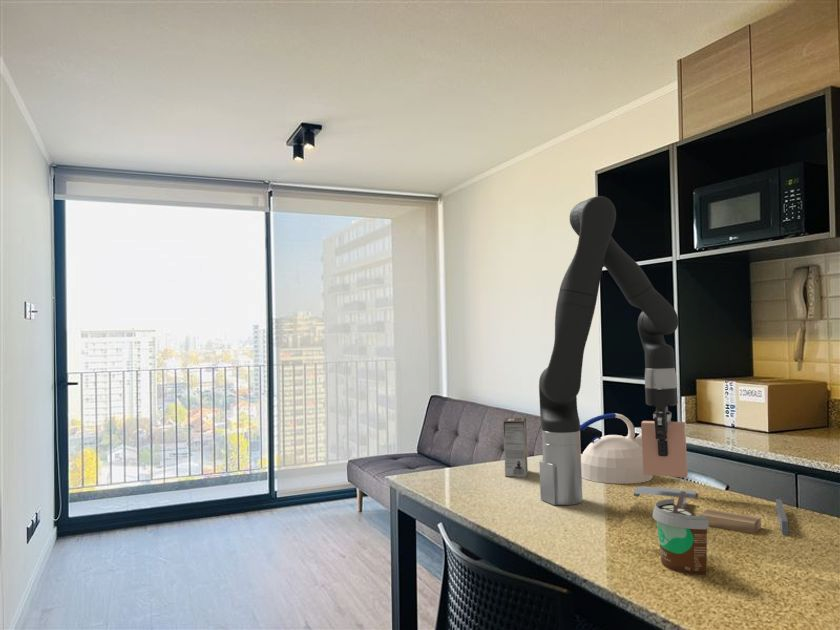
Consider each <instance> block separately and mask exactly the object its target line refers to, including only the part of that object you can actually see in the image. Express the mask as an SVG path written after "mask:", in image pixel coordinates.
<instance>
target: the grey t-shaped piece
mask: <svg viewBox="0 0 840 630" xmlns="http://www.w3.org/2000/svg"><path fill="white" fill-rule="evenodd" d="M681 491H682V492H686V499H688V498H689V499H696V497H697V490H692V489H691V490H690V489H689V490H688V489H677V488H665V487H652V486H642V485H641V486H637V487H636V488H635V491H634V492H633V496H635V497H640V496H641V495H652V496H664V497H675V498H677V497H678V498H679V496H680V493H681Z"/></svg>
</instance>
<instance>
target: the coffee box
mask: <svg viewBox="0 0 840 630" xmlns="http://www.w3.org/2000/svg"><path fill="white" fill-rule="evenodd" d="M527 434H528V433H527V417H505V418H504V421H503V445H504V447H503V449H504V450H503V451H504V452H503V453H504V476H505V477H506V476H516V477H515V478H527V477H528V476H527V475H528V442H527V440H528V439H527V438H528V437H527V436H528V435H527Z"/></svg>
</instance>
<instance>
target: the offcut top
mask: <svg viewBox="0 0 840 630" xmlns="http://www.w3.org/2000/svg"><path fill="white" fill-rule="evenodd" d="M699 516H707V520H708V524H709V527H712V528H718V529H724V530H728V531H729V530H731V531H735V532H736V531H737V532H740V533H745V534H747V533H748V534H753V535H754V534H756V533H757V532H758V531H759V530H761V529H762V522H761V521H762V520H761V519H762V517H758V516H753V515H745V514H740V513H733V512H729V511H722V510H714V509H706V510H705V511H703V512H701V513H699Z"/></svg>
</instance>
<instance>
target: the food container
mask: <svg viewBox="0 0 840 630" xmlns="http://www.w3.org/2000/svg"><path fill="white" fill-rule="evenodd" d="M652 518H653V519H654V520H655V521H656V524H657V525H656V526H657V534H658V541H659V551H660V560H661V564H662V566H663V567H665V568H667V569H668V570H671V571H674V572H677V573H680V574H686V575H695V576H707V569H708V567H707V565H708V562H707V561H708V560H707V558H708V557H707V555H708V530H710V526H709V524H708V520H707V516H700V515H696V514H695V513H694V512H692V511H691V510H690V509H688V508H685V509H684V508H680V507H678V506H677V504H675V498H667V499H662V500H658V501H657V502H655V506H654V507H653V511H652Z"/></svg>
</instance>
